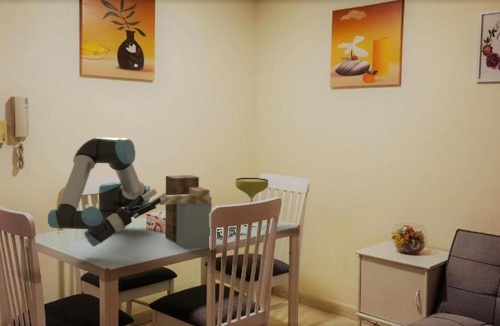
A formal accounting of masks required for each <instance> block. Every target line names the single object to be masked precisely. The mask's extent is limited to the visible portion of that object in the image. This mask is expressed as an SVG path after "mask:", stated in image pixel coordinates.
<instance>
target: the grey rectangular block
mask: <svg viewBox="0 0 500 326" xmlns="http://www.w3.org/2000/svg"><path fill="white" fill-rule="evenodd" d="M212 204H213V203H212V201H211V202H209V203H202V204H196V203H181V204H177V236H176V241H175V242H176V245H178V246H180V247H181V248H183V249H193V248H201V247H210V246H209V236H210V227H209V213H210V211H211V208H213V207H212Z"/></svg>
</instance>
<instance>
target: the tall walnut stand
mask: <svg viewBox="0 0 500 326" xmlns="http://www.w3.org/2000/svg"><path fill="white" fill-rule="evenodd" d="M199 186H200V177H199V176H195V175H192V174H183V175H182V174H181V175H165V194H166V195H182V194H189V188H193V187H199ZM164 218H165V222H164V223H165V228H164V230H165V234H164V235H165V236H164V237H165V238H166V239H168V240H170V241H171V242H176V236H177V204H166V205H165V217H164Z"/></svg>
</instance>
